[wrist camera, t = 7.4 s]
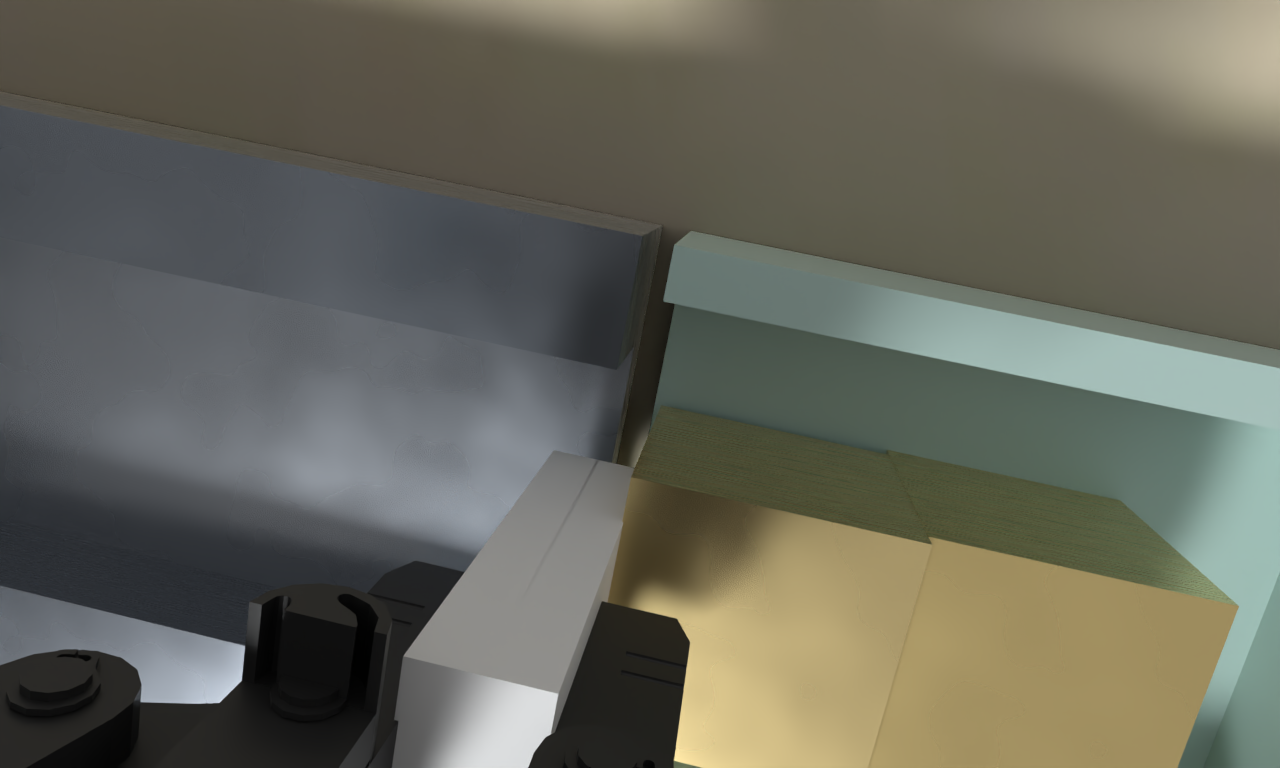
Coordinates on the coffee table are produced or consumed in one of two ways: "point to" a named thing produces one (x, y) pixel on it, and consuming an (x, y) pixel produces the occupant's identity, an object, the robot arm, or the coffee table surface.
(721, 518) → the chip
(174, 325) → the slot board
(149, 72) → the coffee table surface
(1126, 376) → the tray
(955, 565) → the chip
